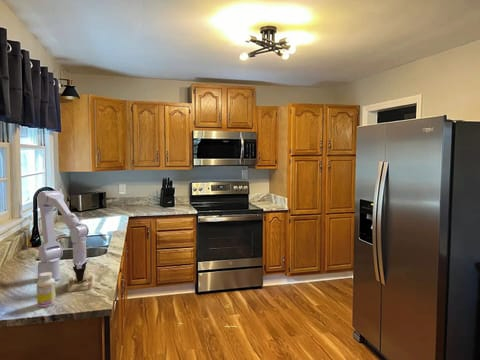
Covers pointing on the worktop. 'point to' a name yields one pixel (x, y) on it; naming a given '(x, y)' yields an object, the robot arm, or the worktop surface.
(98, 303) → the worktop surface
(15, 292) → the worktop surface
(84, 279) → the brass round peg
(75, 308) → the worktop surface
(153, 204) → the worktop surface
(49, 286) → the supplement bottle
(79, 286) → the jig
